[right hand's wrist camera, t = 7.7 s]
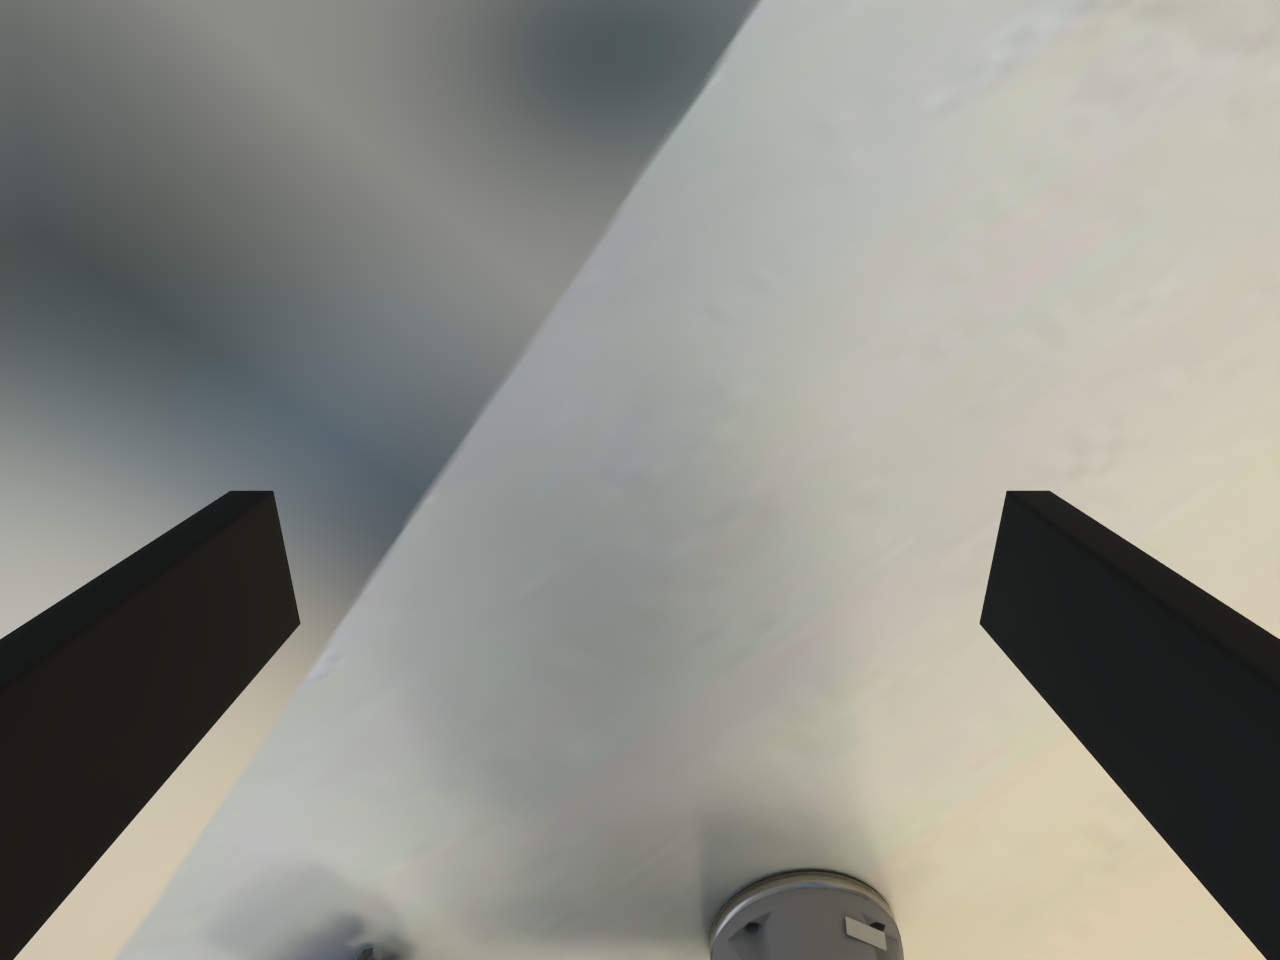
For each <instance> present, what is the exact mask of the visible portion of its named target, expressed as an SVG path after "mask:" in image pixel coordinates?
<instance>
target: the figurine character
mask: <svg viewBox="0 0 1280 960" xmlns="http://www.w3.org/2000/svg"><path fill="white" fill-rule="evenodd" d="M372 954H373V950H372V948H371V949H368V950H365V951H364V952H363V953H362V954H361V955H360V957H359V958H358V959H357V960H367V959H368V958H369V957H370V956H371V955H372ZM354 960H355V959H354Z"/></svg>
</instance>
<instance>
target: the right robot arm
mask: <svg viewBox="0 0 1280 960" xmlns="http://www.w3.org/2000/svg"><path fill="white" fill-rule="evenodd" d="M299 625H300V619H299V615H298V610H297V605H296V600H295V595H294V590H293V585H292V580H291V575H290V570H289V565H288V561H287V556H286V551H285V546H284V541H283V536H282V531H281V526H280V521H279V517H278V512H277V507H276V502H275V497H274V492H273V491H230V492H228V493H226V494H225V495H223V496H222V497H220V498H219V499H217V500H216V501H214V502H212V503H211V504H209V505H208V506H206V507H205V508H203V509H202V510H200V511H198V512H197V513H195V514H194V515H192V516H191V517H189V518H188V519H186V520H185V521H183V522H181V523H180V524H178V525H177V526H175V527H174V528H172V529H171V530H169V531H168V532H166V533H164V534H163V535H161V536H160V537H158V538H157V539H155V540H154V541H152V542H150V543H149V544H147V545H146V546H144V547H143V548H141V549H140V550H138V551H137V552H135V553H133V554H132V555H130V556H129V557H127V558H126V559H124V560H123V561H121V562H120V563H118V564H117V565H115V566H113V567H112V568H110V569H109V570H107V571H106V572H104V573H102V574H101V575H99V576H98V577H96V578H95V579H93V580H92V581H90V582H89V583H87V584H86V585H84V586H82V587H81V588H79V589H78V590H76V591H75V592H73V593H72V594H70V595H68V596H67V597H65V598H64V599H62V600H61V601H59V602H58V603H56V604H55V605H53V606H51V607H50V608H48V609H47V610H45V611H44V612H42V613H41V614H39V615H38V616H36V617H34V618H33V619H31V620H30V621H28V622H27V623H25V624H24V625H22V626H20V627H19V628H17V629H16V630H14V631H13V632H11V633H10V634H8V635H7V636H5V637H3V638H2V639H0V960H13V959H14V958H15V957H16V956H17V955H18V953H19V952H20V951H21V950H22V949H23V948H24V946H25V945H26V944H27V943H28V942H29V941H30V939H31V938H32V937H33V936H34V935H35V934H36V932H37V931H38V930H39V929H40V928H41V926H42V925H43V924H44V923H45V922H46V921H47V919H48V918H49V917H50V916H51V915H52V914H53V912H54V911H55V910H56V909H57V908H58V907H59V905H60V904H61V903H62V902H63V901H64V900H65V898H66V897H67V896H68V895H69V894H70V893H71V891H72V890H73V889H74V888H75V887H76V886H77V884H78V883H79V882H80V881H81V880H82V879H83V877H84V876H85V875H86V874H87V873H88V872H89V870H90V869H91V868H92V867H93V866H94V865H95V863H96V862H97V861H98V860H99V859H100V857H101V856H102V855H103V854H104V853H105V852H106V850H107V849H108V848H109V847H110V846H111V845H112V843H113V842H114V841H115V840H116V839H117V838H118V836H119V835H120V834H121V833H122V832H123V831H124V829H125V828H126V827H127V826H128V825H129V824H130V822H131V821H132V820H133V819H134V818H135V816H136V815H137V814H138V813H139V812H140V811H141V810H142V808H143V807H144V806H145V805H146V804H147V803H148V801H149V800H150V799H151V798H152V797H153V795H154V794H155V793H156V792H157V791H158V790H159V788H160V787H161V786H162V785H163V784H164V783H165V781H166V780H167V779H168V778H169V777H170V776H171V774H172V773H173V772H174V771H175V770H176V769H177V767H178V766H179V765H180V764H181V763H182V762H183V760H184V759H185V758H186V757H187V756H188V755H189V753H190V752H191V751H192V750H193V749H194V747H195V746H196V745H197V744H198V743H199V742H200V741H201V739H202V738H203V737H204V736H205V735H206V733H207V732H208V731H209V730H210V729H211V728H212V726H213V725H214V724H215V723H216V722H217V721H218V719H219V718H220V717H221V716H222V715H223V714H224V712H225V711H226V710H227V709H228V708H229V707H230V705H231V704H232V703H233V702H234V701H235V700H236V698H237V697H238V696H239V695H240V694H241V692H242V691H243V690H244V689H245V688H246V687H247V685H248V684H249V683H250V682H251V681H252V680H253V678H254V677H255V676H256V675H257V674H258V673H259V671H260V670H261V669H262V668H263V667H264V666H265V664H266V663H267V662H268V661H269V660H270V659H271V657H272V656H273V655H274V654H275V653H276V652H277V650H278V649H279V648H280V647H281V646H282V645H283V643H284V642H285V641H286V640H287V639H288V638H289V636H290V635H291V634H292V633H293V632H294V631H295V629H296V628H297V627H298V626H299ZM980 625H981V626H982V627H983V628H984V629H985V631H986V632H987V633H988V634H989V635H990V636H991V638H992V639H993V640H994V641H995V642H996V643H997V645H998V646H999V647H1000V648H1001V649H1002V650H1003V652H1004V653H1005V654H1006V655H1007V656H1008V657H1009V659H1010V660H1011V661H1012V662H1013V663H1014V664H1015V666H1016V667H1017V668H1018V669H1019V670H1020V671H1021V673H1022V674H1023V675H1024V676H1025V677H1026V679H1027V680H1028V681H1029V682H1030V683H1031V684H1032V686H1033V687H1034V688H1035V689H1036V690H1037V691H1038V693H1039V694H1040V695H1041V696H1042V697H1043V698H1044V700H1045V701H1046V702H1047V703H1048V704H1049V705H1050V707H1051V708H1052V709H1053V710H1054V711H1055V712H1056V714H1057V715H1058V716H1059V717H1060V718H1061V719H1062V721H1063V722H1064V723H1065V724H1066V725H1067V726H1068V728H1069V729H1070V730H1071V731H1072V732H1073V733H1074V735H1075V736H1076V737H1077V738H1078V739H1079V741H1080V742H1081V743H1082V744H1083V745H1084V746H1085V748H1086V749H1087V750H1088V751H1089V752H1090V753H1091V755H1092V756H1093V757H1094V758H1095V759H1096V760H1097V762H1098V763H1099V764H1100V765H1101V766H1102V767H1103V769H1104V770H1105V771H1106V772H1107V773H1108V774H1109V776H1110V777H1111V778H1112V779H1113V780H1114V781H1115V783H1116V784H1117V785H1118V786H1119V787H1120V788H1121V790H1122V791H1123V792H1124V793H1125V794H1126V795H1127V797H1128V798H1129V799H1130V800H1131V801H1132V803H1133V804H1134V805H1135V806H1136V807H1137V808H1138V810H1139V811H1140V812H1141V813H1142V814H1143V815H1144V817H1145V818H1146V819H1147V820H1148V821H1149V822H1150V824H1151V825H1152V826H1153V827H1154V828H1155V829H1156V831H1157V832H1158V833H1159V834H1160V835H1161V836H1162V838H1163V839H1164V840H1165V841H1166V842H1167V843H1168V845H1169V846H1170V847H1171V848H1172V849H1173V850H1174V852H1175V853H1176V854H1177V855H1178V856H1179V857H1180V859H1181V860H1182V861H1183V862H1184V863H1185V865H1186V866H1187V867H1188V868H1189V869H1190V870H1191V872H1192V873H1193V874H1194V875H1195V876H1196V877H1197V879H1198V880H1199V881H1200V882H1201V883H1202V884H1203V886H1204V887H1205V888H1206V889H1207V890H1208V891H1209V893H1210V894H1211V895H1212V896H1213V897H1214V898H1215V900H1216V901H1217V902H1218V903H1219V904H1220V905H1221V907H1222V908H1223V909H1224V910H1225V911H1226V912H1227V914H1228V915H1229V916H1230V917H1231V918H1232V920H1233V921H1234V922H1235V923H1236V924H1237V925H1238V927H1239V928H1240V929H1241V930H1242V931H1243V932H1244V934H1245V935H1246V936H1247V937H1248V938H1249V939H1250V941H1251V942H1252V943H1253V944H1254V945H1255V946H1256V948H1257V949H1258V950H1259V951H1260V952H1261V953H1262V955H1263V956H1264V957H1265V958H1266V959H1267V960H1280V639H1278V638H1277V637H1275V636H1274V635H1272V634H1270V633H1269V632H1267V631H1266V630H1264V629H1263V628H1261V627H1260V626H1258V625H1256V624H1255V623H1253V622H1252V621H1250V620H1249V619H1247V618H1246V617H1244V616H1243V615H1241V614H1239V613H1238V612H1236V611H1235V610H1233V609H1232V608H1230V607H1229V606H1227V605H1226V604H1224V603H1222V602H1221V601H1219V600H1218V599H1216V598H1215V597H1213V596H1212V595H1210V594H1208V593H1207V592H1205V591H1204V590H1202V589H1201V588H1199V587H1198V586H1196V585H1195V584H1193V583H1191V582H1190V581H1188V580H1187V579H1185V578H1184V577H1182V576H1181V575H1179V574H1178V573H1176V572H1174V571H1173V570H1171V569H1170V568H1168V567H1167V566H1165V565H1164V564H1162V563H1160V562H1159V561H1157V560H1156V559H1154V558H1153V557H1151V556H1150V555H1148V554H1147V553H1145V552H1143V551H1142V550H1140V549H1139V548H1137V547H1136V546H1134V545H1133V544H1131V543H1130V542H1128V541H1126V540H1125V539H1123V538H1122V537H1120V536H1119V535H1117V534H1116V533H1114V532H1112V531H1111V530H1109V529H1108V528H1106V527H1105V526H1103V525H1102V524H1100V523H1099V522H1097V521H1095V520H1094V519H1092V518H1091V517H1089V516H1088V515H1086V514H1085V513H1083V512H1082V511H1080V510H1078V509H1077V508H1075V507H1074V506H1072V505H1071V504H1069V503H1068V502H1066V501H1064V500H1063V499H1061V498H1060V497H1058V496H1057V495H1055V494H1054V493H1052V492H1051V491H1007V492H1006V497H1005V502H1004V507H1003V512H1002V517H1001V521H1000V526H999V531H998V536H997V541H996V546H995V551H994V556H993V561H992V565H991V570H990V575H989V580H988V585H987V590H986V595H985V600H984V605H983V610H982V614H981V619H980ZM709 942H710V955H711V960H904V956H903V948H902V943H901V937H900V934H899V931H898V928H897V925H896V922H895V920H894V917H893V914H892V912H891V910H890V908H889V906H888V905H887V903H886V902H885V901H884V900H883V899H882V897H881V896H880V895H878V894H877V893H876V892H875V891H874V890H872V889H871V888H870V887H868V886H866V885H865V884H863V883H861V882H859V881H857V880H854V879H852V878H849V877H846V876H842V875H838V874H833V873H827V872H814V871H807V872H793V873H787V874H782V875H778V876H774V877H770V878H767V879H764V880H762V881H760V882H757V883H755V884H753V885H751V886H749V887H747V888H746V889H744V890H742V891H741V892H739V893H738V894H737V895H735V896H734V897H733V898H732V899H731V900H730V901H728V902H727V903H726V905H725V906H724V907H723V908H722V909H721V911H720V912H719V913H718V915H717V917H716V918H715V920H714V923H713V925H712V928H711V932H710V939H709Z"/></svg>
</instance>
